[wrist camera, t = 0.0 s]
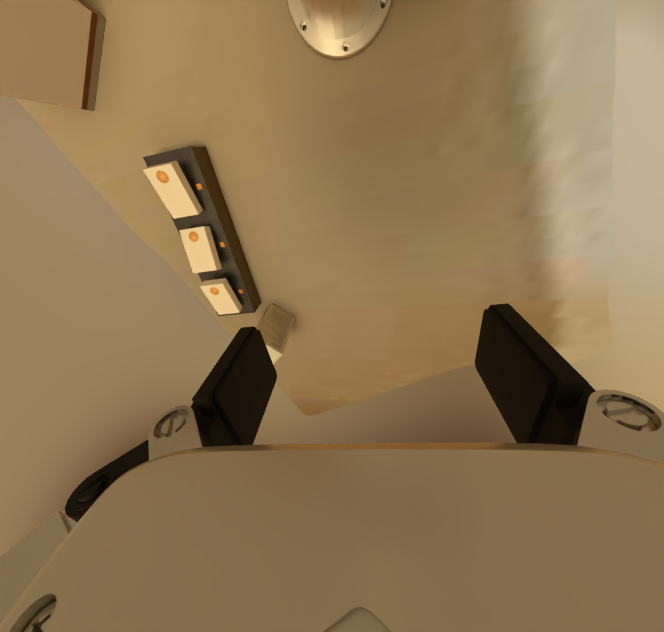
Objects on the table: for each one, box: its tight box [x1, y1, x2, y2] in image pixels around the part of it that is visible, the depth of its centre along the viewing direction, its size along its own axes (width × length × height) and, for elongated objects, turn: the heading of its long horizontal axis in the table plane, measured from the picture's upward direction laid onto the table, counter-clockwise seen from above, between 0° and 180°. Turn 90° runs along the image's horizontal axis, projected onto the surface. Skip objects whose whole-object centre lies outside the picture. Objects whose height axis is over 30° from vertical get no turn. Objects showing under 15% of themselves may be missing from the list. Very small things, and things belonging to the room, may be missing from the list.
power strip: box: [143, 146, 261, 316], centre depth 45 cm, size 28×8×4 cm, turn 10°
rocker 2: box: [200, 278, 242, 315], centre depth 47 cm, size 7×4×2 cm, turn 10°
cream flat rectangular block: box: [179, 226, 222, 273], centre depth 42 cm, size 7×4×2 cm, turn 9°
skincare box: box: [256, 304, 295, 365], centre depth 50 cm, size 6×4×12 cm
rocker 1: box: [143, 161, 203, 219], centre depth 37 cm, size 7×4×2 cm, turn 10°
